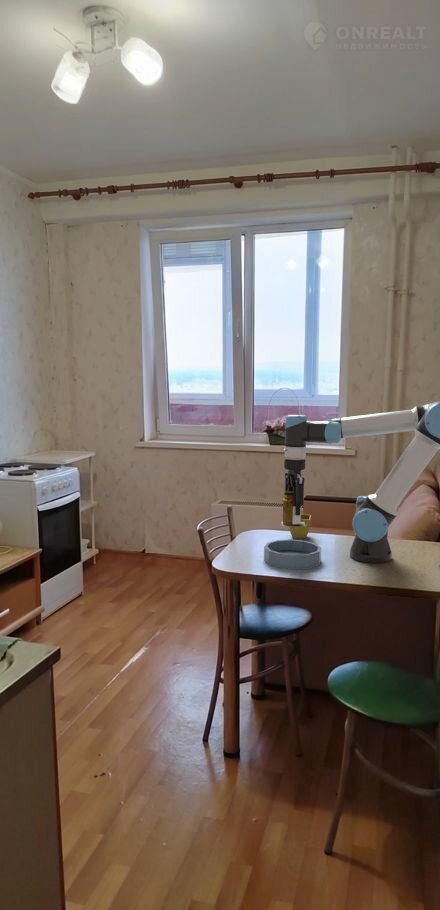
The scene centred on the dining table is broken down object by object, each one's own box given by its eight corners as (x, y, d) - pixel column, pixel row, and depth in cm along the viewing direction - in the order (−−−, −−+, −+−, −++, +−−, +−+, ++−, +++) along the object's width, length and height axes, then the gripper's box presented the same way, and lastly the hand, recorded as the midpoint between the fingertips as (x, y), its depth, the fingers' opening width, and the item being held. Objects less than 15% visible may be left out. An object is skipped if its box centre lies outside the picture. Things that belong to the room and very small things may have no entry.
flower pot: (309, 540, 239) (310, 519, 238) (288, 539, 241) (288, 518, 240) (310, 535, 248) (311, 514, 247) (289, 534, 250) (290, 513, 248)
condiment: (280, 521, 214) (281, 489, 213) (304, 522, 214) (304, 490, 212) (282, 526, 207) (283, 493, 205) (306, 527, 207) (307, 493, 205)
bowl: (308, 551, 224) (308, 538, 224) (329, 567, 205) (329, 553, 204) (258, 554, 220) (258, 541, 219) (274, 570, 200) (275, 556, 200)
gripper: (276, 455, 216) (274, 516, 219) (294, 462, 198) (292, 528, 201) (295, 454, 218) (293, 515, 221) (314, 461, 199) (312, 527, 202)
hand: (293, 521), depth 211 cm, fingers closed on condiment, 6 cm apart
